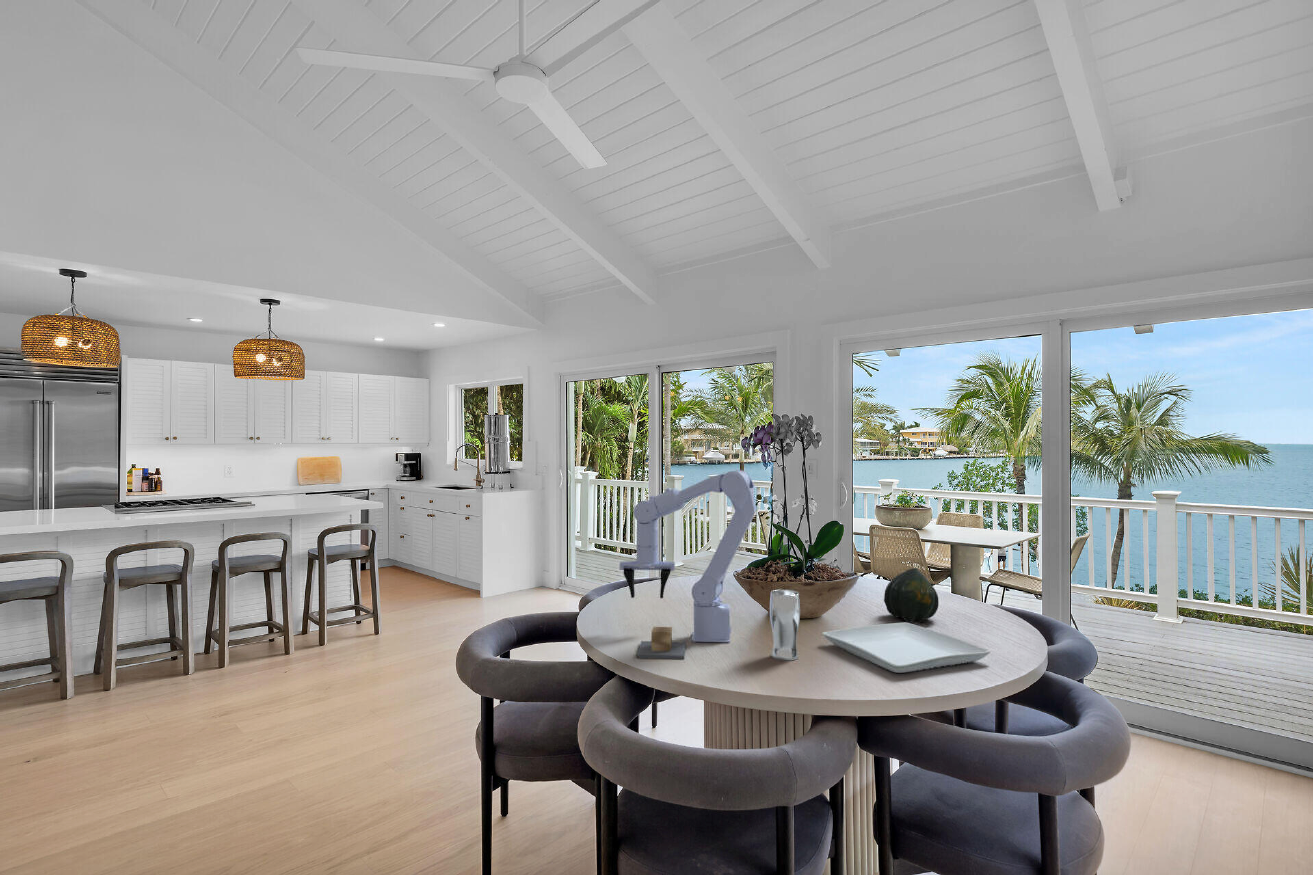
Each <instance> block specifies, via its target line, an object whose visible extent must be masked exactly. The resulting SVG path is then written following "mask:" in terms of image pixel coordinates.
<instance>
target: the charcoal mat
mask: <svg viewBox="0 0 1313 875" xmlns="http://www.w3.org/2000/svg"><path fill="white" fill-rule="evenodd" d="M685 653H686V641H672V647H671V651H652V640H650V641H649V640H641V641H640V644H639V647H638V650H637V654H636V659H663V660H664V659H665V660H666V659H667V660H668V659H669V660H685Z"/></svg>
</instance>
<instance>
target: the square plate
mask: <svg viewBox="0 0 1313 875" xmlns="http://www.w3.org/2000/svg"><path fill="white" fill-rule="evenodd" d="M822 636H824V638H826V640H827V641H829V642H830V643H831V644H833V645H835V646H837V647H839V648H842V649H843V650H845V651H846V652H848V653H850V652H851V653H850V654H853V655H855V656H857V657H859V658H862V659H864V660H865V661H868V660H869V661H868V662H870V661H871V663H873V664H875V665H877V666H878V667H879V666H880V667H881V668H883V669H886V670H887V671H890V672H893V673H897V674H902V673H910V672H911V673H912V672H918V671H923V669H925V670H930V669H929V668H931V669H935V668H934V667H937V668H941V666H944V667H948V666H947V665H950V666H954V665H955V664H957V665H959V664H961V663H962V664H967V662H968V663H972V662H977V661H980V660H982V659H984V658H985V657H987V656H988V655H989V654H990V653H991V650H988V649H986V648H983V647H980V646H978V645H975V644H973V643H970V642H967V641H965V640H962V639H959V638H957V637H953V636H951V635H948V634H945V633H943V632H939V631H935V630H933V629H930V628H927V627H923V626H920V625H916V624H913V623H911V622H894V623H892V622H891V623H881V624H880V623H879V624H872V625H864V626H863V625H862V626H856V627H855V626H854V627H848V628H841V629H837V630H830V631H823V632H822ZM955 666H956V665H955ZM917 670H918V671H917Z"/></svg>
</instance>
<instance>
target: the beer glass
mask: <svg viewBox="0 0 1313 875" xmlns="http://www.w3.org/2000/svg"><path fill="white" fill-rule="evenodd" d="M769 598H770V599H769V619H770V624H771V625H770V626H771V631H772V638H773V647H772V651H771V652H772V653H771V656H772V658H773V659H774V660H778V661H783V662H784V661H788V662H789V661H796V660H798V658H799V653H798V648H797V639H798V638H797V637H798V631H799V624H800V617H801V607H800V606H801V605H800V604H801V603H800V602H801V601H800V592H798V591H797V590H793V589H792V590H791V589H774V590H771V591H770V597H769Z"/></svg>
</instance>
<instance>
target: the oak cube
mask: <svg viewBox="0 0 1313 875" xmlns="http://www.w3.org/2000/svg"><path fill="white" fill-rule="evenodd" d="M672 636H673V627H672V626H653V627H652V629H651V636H650V637H651V640H650V641H652V651H671V647H672V642H673V637H672Z"/></svg>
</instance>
